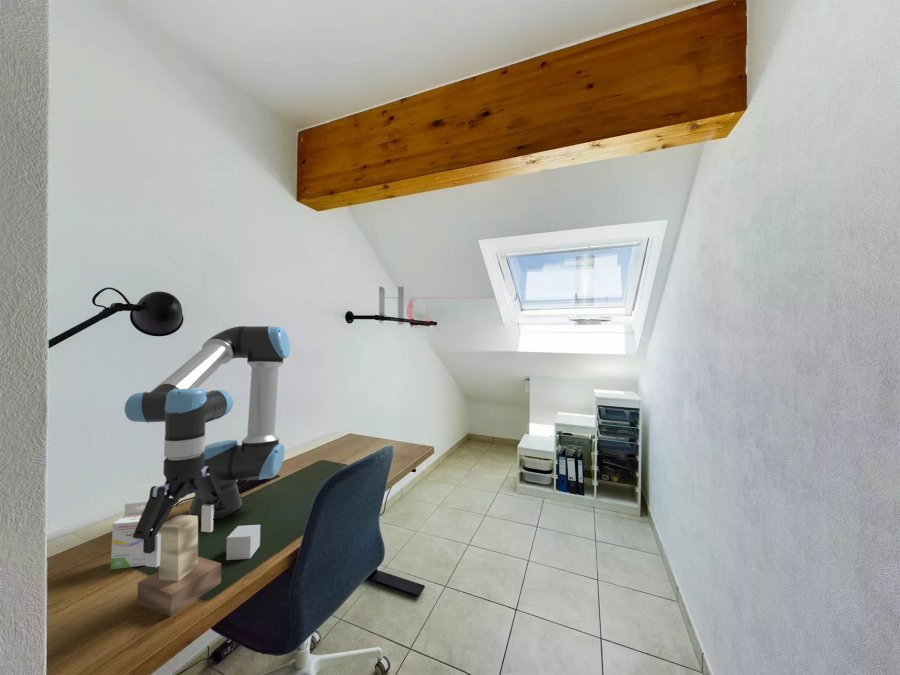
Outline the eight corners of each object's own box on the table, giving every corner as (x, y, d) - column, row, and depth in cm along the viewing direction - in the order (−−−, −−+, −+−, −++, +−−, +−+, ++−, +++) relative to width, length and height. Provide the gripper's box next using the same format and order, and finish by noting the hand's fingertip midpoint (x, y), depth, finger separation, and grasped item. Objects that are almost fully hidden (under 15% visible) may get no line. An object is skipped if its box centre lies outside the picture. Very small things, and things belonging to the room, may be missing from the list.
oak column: (179, 564, 81) (179, 514, 81) (197, 566, 80) (197, 515, 81) (158, 579, 76) (158, 525, 76) (178, 581, 75) (178, 527, 76)
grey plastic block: (237, 547, 96) (238, 525, 97) (259, 545, 97) (260, 524, 97) (226, 560, 90) (226, 537, 91) (250, 558, 91) (250, 536, 91)
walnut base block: (189, 574, 85) (189, 553, 86) (220, 584, 82) (221, 563, 82) (137, 605, 75) (137, 582, 75) (170, 618, 71) (171, 594, 72)
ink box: (108, 570, 86) (111, 511, 86) (122, 559, 91) (124, 503, 91) (149, 565, 88) (151, 507, 89) (160, 553, 93) (162, 499, 93)
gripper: (214, 439, 92) (212, 518, 92) (111, 474, 67) (107, 582, 67) (239, 441, 91) (237, 520, 91) (143, 476, 66) (140, 586, 66)
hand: (182, 547), depth 79 cm, fingers open, 13 cm apart
